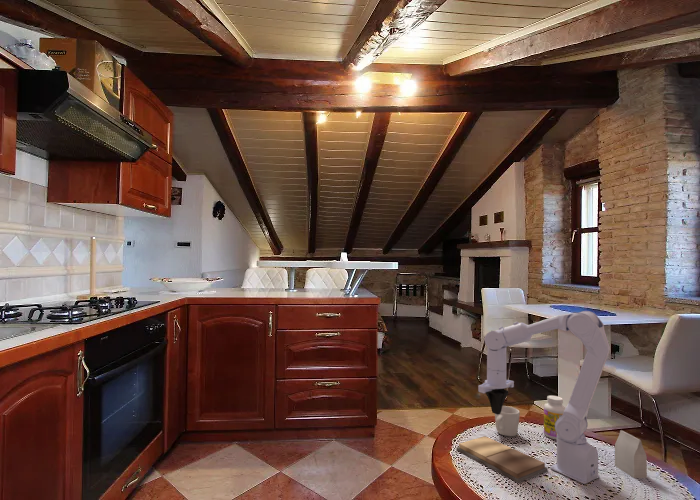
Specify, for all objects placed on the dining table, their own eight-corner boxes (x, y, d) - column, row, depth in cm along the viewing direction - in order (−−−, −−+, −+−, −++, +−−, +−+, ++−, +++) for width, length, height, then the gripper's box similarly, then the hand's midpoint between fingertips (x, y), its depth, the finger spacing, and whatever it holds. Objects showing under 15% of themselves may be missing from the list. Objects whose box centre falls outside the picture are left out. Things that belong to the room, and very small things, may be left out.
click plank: (511, 452, 117) (511, 448, 117) (485, 461, 111) (485, 456, 111) (484, 439, 125) (484, 436, 125) (459, 447, 119) (459, 443, 119)
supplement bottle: (539, 433, 134) (539, 395, 134) (554, 431, 136) (554, 393, 136) (554, 441, 127) (554, 401, 128) (570, 439, 129) (570, 400, 130)
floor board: (547, 470, 108) (547, 463, 108) (518, 483, 101) (518, 475, 101) (485, 441, 126) (485, 435, 126) (456, 450, 119) (456, 443, 119)
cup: (508, 443, 125) (509, 417, 126) (485, 435, 131) (485, 410, 132) (523, 434, 132) (523, 410, 133) (501, 427, 138) (501, 404, 139)
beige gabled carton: (634, 478, 105) (633, 440, 106) (614, 465, 112) (614, 430, 113) (646, 478, 106) (646, 440, 106) (626, 465, 113) (626, 430, 113)
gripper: (500, 363, 130) (500, 405, 130) (470, 368, 123) (470, 412, 122) (519, 368, 124) (519, 412, 124) (489, 373, 117) (488, 420, 116)
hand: (496, 413), depth 122 cm, fingers closed
